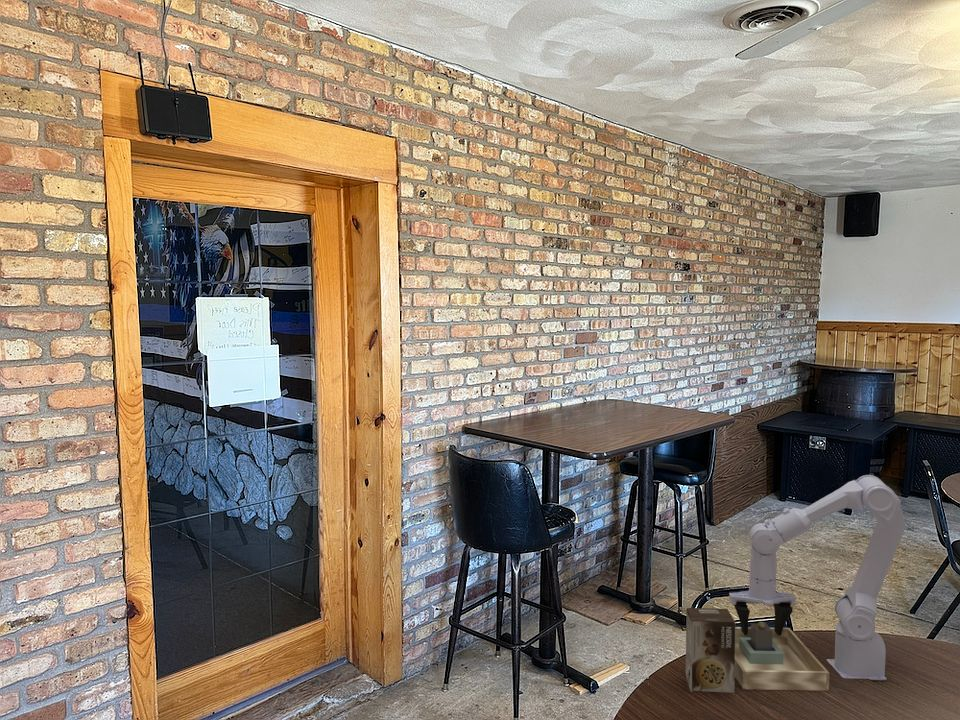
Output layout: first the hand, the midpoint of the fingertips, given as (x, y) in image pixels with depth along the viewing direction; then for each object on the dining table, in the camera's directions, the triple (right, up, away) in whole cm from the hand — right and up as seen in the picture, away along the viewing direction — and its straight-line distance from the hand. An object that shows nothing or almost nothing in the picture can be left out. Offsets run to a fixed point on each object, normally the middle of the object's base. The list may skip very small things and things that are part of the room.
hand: (761, 633), depth 155 cm
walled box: (0, -6, -4) cm, 7 cm away
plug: (0, -5, 0) cm, 5 cm away
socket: (0, -6, 0) cm, 6 cm away
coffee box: (-16, -7, -11) cm, 21 cm away
